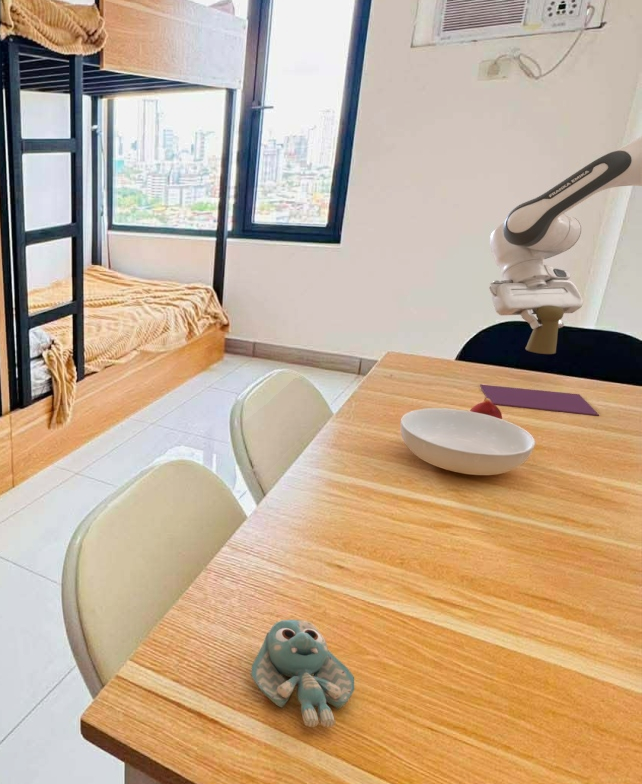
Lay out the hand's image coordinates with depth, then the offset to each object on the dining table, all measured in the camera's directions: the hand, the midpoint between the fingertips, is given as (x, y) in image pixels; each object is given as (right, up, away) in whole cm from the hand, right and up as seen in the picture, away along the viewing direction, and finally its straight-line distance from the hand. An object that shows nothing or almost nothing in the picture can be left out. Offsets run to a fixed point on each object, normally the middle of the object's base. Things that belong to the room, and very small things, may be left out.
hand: (548, 327), depth 151 cm
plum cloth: (-7, -17, -5) cm, 19 cm away
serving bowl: (-44, -29, -34) cm, 63 cm away
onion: (-32, -25, -23) cm, 46 cm away
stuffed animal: (-92, -48, -84) cm, 133 cm away
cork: (0, -6, +3) cm, 6 cm away
